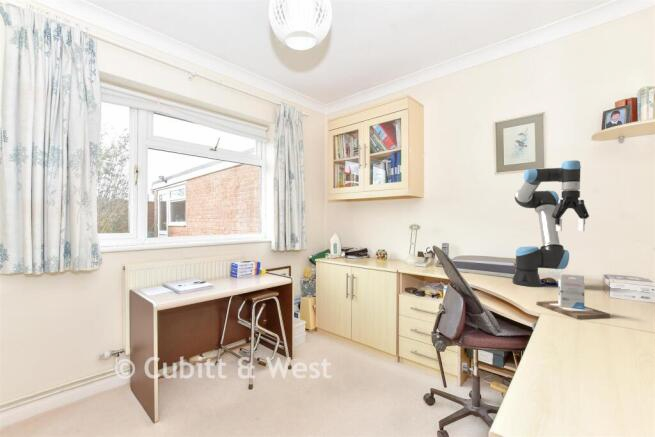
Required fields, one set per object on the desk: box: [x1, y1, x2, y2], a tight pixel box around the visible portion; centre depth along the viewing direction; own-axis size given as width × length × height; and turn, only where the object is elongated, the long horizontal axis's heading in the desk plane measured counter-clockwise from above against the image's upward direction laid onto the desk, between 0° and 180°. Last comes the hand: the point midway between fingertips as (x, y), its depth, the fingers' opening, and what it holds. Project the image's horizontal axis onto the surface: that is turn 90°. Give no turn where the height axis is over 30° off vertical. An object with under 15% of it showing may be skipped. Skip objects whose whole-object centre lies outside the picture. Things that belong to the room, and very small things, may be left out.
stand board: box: [535, 300, 611, 320], centre depth 135 cm, size 20×16×2 cm
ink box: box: [557, 273, 585, 309], centre depth 135 cm, size 9×5×15 cm, turn 62°
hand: (570, 231), depth 157 cm, fingers open, 13 cm apart
